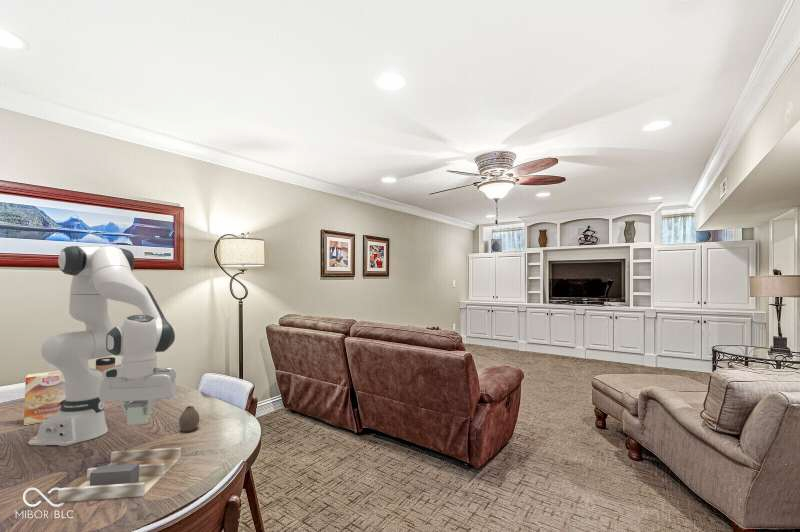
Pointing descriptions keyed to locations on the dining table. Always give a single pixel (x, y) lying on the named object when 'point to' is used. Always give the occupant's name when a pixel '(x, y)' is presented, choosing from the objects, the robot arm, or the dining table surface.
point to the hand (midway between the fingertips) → (138, 414)
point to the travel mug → (105, 364)
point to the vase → (189, 419)
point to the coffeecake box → (43, 396)
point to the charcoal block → (115, 475)
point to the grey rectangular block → (137, 412)
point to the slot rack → (150, 472)
